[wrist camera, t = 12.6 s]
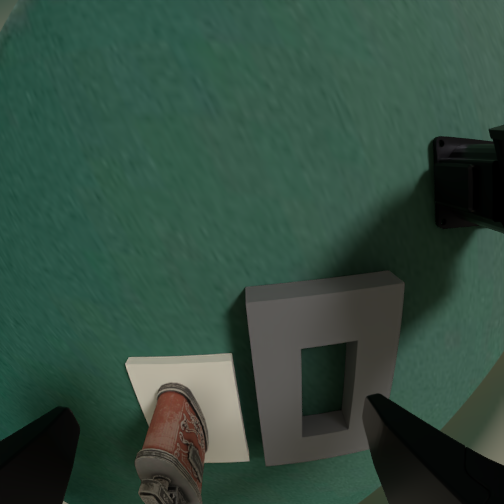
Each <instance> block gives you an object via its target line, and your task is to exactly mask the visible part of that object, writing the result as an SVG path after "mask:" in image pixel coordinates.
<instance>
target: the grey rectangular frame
mask: <svg viewBox="0 0 504 504" xmlns="http://www.w3.org/2000/svg"><path fill="white" fill-rule="evenodd" d="M404 287H405V283H404V282H403V281H402V280H401V279H399V278H398V277H397V276H396V275H394V274H393V273H392V272H390V271H389V270H388V271H381V272H373V273H365V274H358V275H350V276H341V277H333V278H325V279H316V280H308V281H299V282H290V283H280V284H271V285H261V286H251V287H245V293H246V310H247V319H248V327H249V336H250V344H251V353H252V361H253V369H254V377H255V385H256V393H257V401H258V409H259V417H260V425H261V433H262V440H263V448H264V456H265V463H266V466H274V465H284V464H292V463H299V462H306V461H313V460H319V459H325V458H330V457H336V456H341V455H346V454H350V453H355V452H359V451H364V450H368V449H370V448H369V445H368V441H367V437H366V433H365V429H364V425H363V421H362V413H363V407H364V400H365V397H366V396H367V395H371V394H376V393H380V394H382V395H384V396H385V397H387V398H388V399H389V396H390V391H391V386H392V381H393V375H394V369H395V363H396V357H397V350H398V343H399V336H400V328H401V319H402V310H403V299H404ZM344 342H346V360H345V375H344V388H343V399H342V410H339V411H333V412H327V413H321V414H315V415H309V416H302V373H301V349H304V348H311V347H318V346H325V345H332V344H338V343H344Z"/></svg>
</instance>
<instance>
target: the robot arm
mask: <svg viewBox="0 0 504 504" xmlns="http://www.w3.org/2000/svg"><path fill="white" fill-rule="evenodd" d="M489 133H490V137H491V139H493V142H492V141H484V140H475V139H466V138H455V137H443V136H439V137H435V138H434V140H433V148H434V164H435V165H434V180H435V201H436V220H435V221H436V225H437V226H438V227H439V228H442V229H447V228H458V227H469V226H483V227H486V228H489V229H492V230H495V231H498V232H501V233H504V125H501V126H498V127H494V128H491V129H489ZM439 141H440V142H441V146H440V145H439ZM442 219H443V223H442V224H441V220H442ZM362 421H363V425H364V429H365V433H366V437H367V441H368V445H369V448H370V452H371V456H372V460H373V464H374V467H375V469H376V472H377V474H378V477H379V479H380V482H381V485H382V487H383V490H384V492H385V495H386V497H387V500H388V503H389V504H504V465H501V464H499V463H497V462H495V461H492V460H490V459H488V458H486V457H484V456H482V455H481V454H479V453H477V452H475V451H473V450H472V449H470V448H468V447H466V448H465V445H463V444H461V443H459V442H458V441H456V440H454V439H453V438H451V437H449V436H448V435H446V434H444V433H443V432H441V431H439V430H438V429H436V428H434V427H433V426H431V425H430V424H428V423H426V422H425V421H423V420H421V419H420V418H418V417H417V416H415V415H413V414H412V413H410V412H409V411H407V410H405V409H404V408H402V407H401V406H399V405H398V404H396V403H394V402H393V401H391V400H390V399H388V398H387V397H385V396H384V395H382V394H380V393H376V394H371V395H367V396H366V397H365V400H364V407H363V413H362ZM79 434H80V426H79V424H78V422H77V420H76V418H75V417H74V415H73V413H72V411H71V410H70V409H69V408H68V407H62V406H58V407H56V408H54V409H53V410H51V411H49V412H48V413H46V414H45V415H43V416H41V417H40V418H38V419H36V420H35V421H33V422H32V423H30V424H28V425H27V426H25V427H23V428H22V429H20V430H18V431H17V432H15V433H13V434H12V435H10V436H8V437H7V438H5V439H3V440H2V441H0V504H62V503H63V500H64V496H65V492H66V489H67V485H68V482H69V479H70V475H71V472H72V468H73V463H74V458H75V453H76V448H77V443H78V439H79Z"/></svg>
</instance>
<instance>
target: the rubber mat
mask: <svg viewBox="0 0 504 504" xmlns="http://www.w3.org/2000/svg"><path fill="white" fill-rule="evenodd" d="M125 366H126V369H127V371H128V374H129V377H130V380H131V382H132V385H133V388H134V391H135V393H136V396H137V398H138V401H139V403H140V406H141V408H142V411H143V413H144V416H145V418H146V421H147V423H148V425H149V426H150V423H151V419H152V416H153V413H154V410H155V407H156V404H157V401H156V396H157V393H158V390H159V388H160V387H161V385H163V384H165V383H169V382H177V383H180V384H183V385H185V386H187V387H188V388H189V389H190V390H191V392H192V394H193V395H194V397H195V399H196V400H197V402H198V404H199V406H200V408H201V410H202V413H203V415H204V417H205V420H206V424H207V429H208V438H209V444H208V451H207V452H206V453H205V459H204V463H221V462H245V461H249V450H248V445H247V439H246V434H245V428H244V423H243V417H242V411H241V405H240V399H239V393H238V387H237V381H236V375H235V369H234V363H233V356H232V353H226V354H211V355H193V356H168V357H129V358H128V360H127V362H126V363H125Z"/></svg>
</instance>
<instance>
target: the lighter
mask: <svg viewBox="0 0 504 504" xmlns="http://www.w3.org/2000/svg"><path fill="white" fill-rule="evenodd" d="M156 401H157V404H156V407H155V410H154V413H153V416H152V419H151V423H150V426H149V429H148V432H147V435H146V438H145V441H144V445H143V448H142V450H140V451H139V452H138V453H137V456H136V459H135V467H136V470H137V473H138V476H139V478H140V480H141V485H140V489H139V492H138V494H139V495H140V497H141V499H142V500H143V501H144V502H145V504H202V498H201V486H202V478H203V469H204V459H205V453H206V452H207V451H208V444H209V438H208V429H207V424H206V420H205V417H204V415H203V413H202V410H201V408H200V406H199V404H198V402H197V400H196V399H195V397H194V395H193V394H192V392H191V390H190V389H189V388H188V387H187V386H185V385H183V384H180V383H177V382H169V383H165V384H163V385H161V387H160V388H159V390H158V393H157V396H156Z"/></svg>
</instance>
